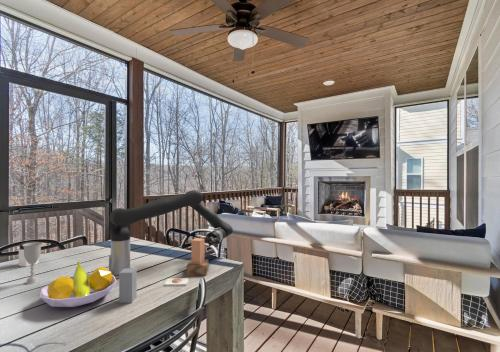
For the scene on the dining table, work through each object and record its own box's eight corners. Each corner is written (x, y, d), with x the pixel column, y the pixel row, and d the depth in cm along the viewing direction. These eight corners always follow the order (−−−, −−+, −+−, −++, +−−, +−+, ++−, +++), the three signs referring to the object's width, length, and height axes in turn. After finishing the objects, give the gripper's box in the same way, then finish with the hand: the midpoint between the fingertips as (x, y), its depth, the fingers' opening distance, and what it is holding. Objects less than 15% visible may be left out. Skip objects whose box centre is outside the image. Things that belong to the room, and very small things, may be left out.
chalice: (20, 286, 123) (20, 246, 123) (24, 281, 129) (24, 243, 129) (40, 283, 127) (40, 244, 127) (43, 278, 133) (43, 241, 133)
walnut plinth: (186, 275, 137) (186, 265, 137) (189, 268, 147) (189, 259, 147) (206, 275, 138) (206, 265, 138) (208, 268, 148) (208, 259, 148)
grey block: (119, 303, 107) (119, 272, 107) (124, 297, 112) (124, 268, 112) (132, 302, 108) (132, 272, 108) (136, 297, 113) (136, 268, 113)
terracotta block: (191, 263, 141) (191, 240, 141) (196, 260, 146) (196, 238, 146) (200, 264, 139) (200, 240, 139) (204, 261, 144) (204, 238, 144)
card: (164, 285, 124) (164, 283, 124) (167, 280, 131) (167, 278, 131) (186, 285, 125) (186, 283, 125) (188, 279, 132) (188, 277, 132)
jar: (22, 262, 156) (22, 241, 156) (40, 261, 159) (40, 240, 159) (16, 267, 148) (16, 245, 148) (35, 265, 151) (35, 244, 151)
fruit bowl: (110, 309, 102) (110, 279, 102) (24, 320, 95) (24, 287, 94) (122, 281, 129) (122, 257, 129) (56, 288, 121) (56, 262, 121)
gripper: (203, 230, 164) (190, 236, 148) (225, 231, 160) (214, 237, 144) (203, 242, 164) (190, 249, 148) (225, 244, 160) (214, 251, 144)
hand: (201, 243), depth 146 cm, fingers open, 8 cm apart
